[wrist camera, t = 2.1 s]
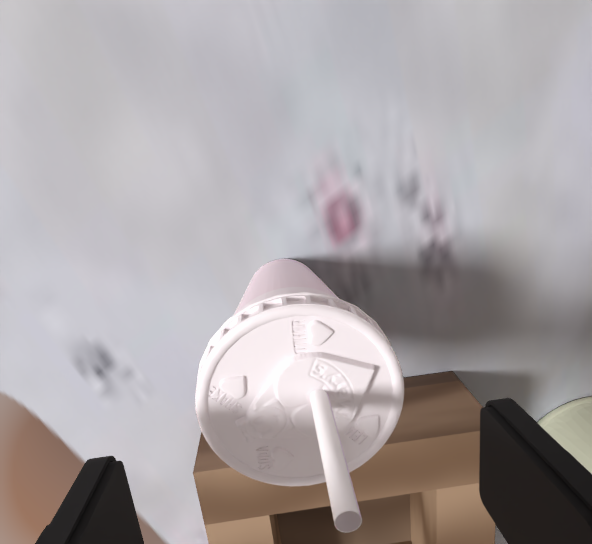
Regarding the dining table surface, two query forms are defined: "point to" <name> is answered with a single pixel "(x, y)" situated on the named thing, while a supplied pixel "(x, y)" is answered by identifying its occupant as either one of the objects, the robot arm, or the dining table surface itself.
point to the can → (572, 429)
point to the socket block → (369, 483)
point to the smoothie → (299, 387)
